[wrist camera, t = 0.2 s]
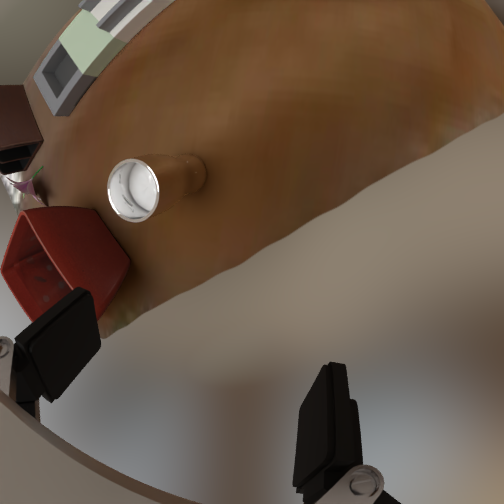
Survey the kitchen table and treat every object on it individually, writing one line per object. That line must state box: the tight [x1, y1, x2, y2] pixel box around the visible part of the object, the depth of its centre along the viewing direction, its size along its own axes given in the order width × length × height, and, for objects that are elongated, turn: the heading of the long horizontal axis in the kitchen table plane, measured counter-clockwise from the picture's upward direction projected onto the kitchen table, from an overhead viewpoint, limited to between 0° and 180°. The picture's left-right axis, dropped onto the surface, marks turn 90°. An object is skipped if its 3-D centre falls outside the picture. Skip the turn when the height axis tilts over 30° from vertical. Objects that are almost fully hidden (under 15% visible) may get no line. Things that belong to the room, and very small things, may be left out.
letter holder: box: [0, 85, 44, 175], centre depth 33 cm, size 10×20×14 cm, turn 33°
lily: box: [5, 166, 46, 206], centre depth 40 cm, size 12×12×10 cm
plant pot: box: [0, 206, 130, 323], centre depth 39 cm, size 19×19×17 cm
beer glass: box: [107, 154, 206, 222], centre depth 32 cm, size 7×7×15 cm
